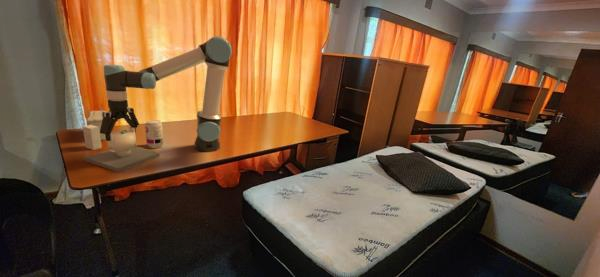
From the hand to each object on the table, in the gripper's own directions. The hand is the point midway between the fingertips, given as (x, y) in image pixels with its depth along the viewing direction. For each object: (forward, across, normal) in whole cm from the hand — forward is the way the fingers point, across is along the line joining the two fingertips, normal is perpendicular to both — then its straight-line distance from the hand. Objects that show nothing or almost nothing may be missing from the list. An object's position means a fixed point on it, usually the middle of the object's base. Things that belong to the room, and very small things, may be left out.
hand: (122, 142), depth 118 cm
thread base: (+9, 0, 0) cm, 9 cm away
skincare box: (+9, -3, -23) cm, 25 cm away
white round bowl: (+2, 0, 0) cm, 2 cm away
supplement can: (+9, -20, 0) cm, 22 cm away
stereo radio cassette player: (+9, -17, -37) cm, 41 cm away
